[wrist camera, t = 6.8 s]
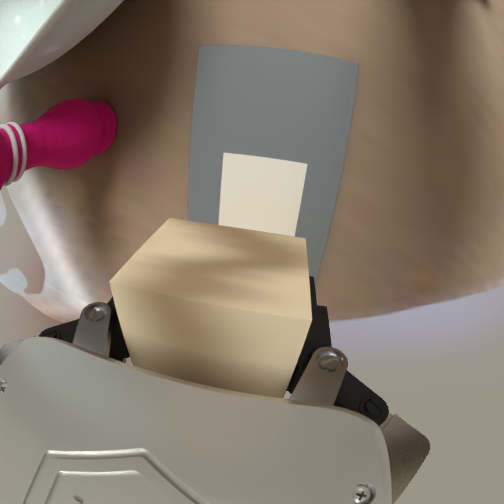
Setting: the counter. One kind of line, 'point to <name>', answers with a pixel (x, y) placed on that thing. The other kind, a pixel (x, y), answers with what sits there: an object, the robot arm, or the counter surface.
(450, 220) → the counter surface
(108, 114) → the pepper mill
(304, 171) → the board
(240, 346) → the maple block
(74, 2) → the bowl
